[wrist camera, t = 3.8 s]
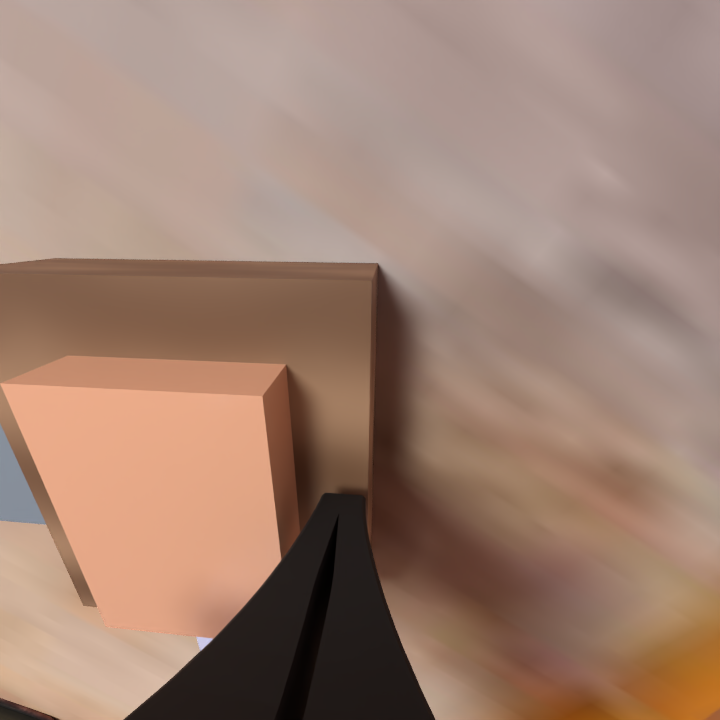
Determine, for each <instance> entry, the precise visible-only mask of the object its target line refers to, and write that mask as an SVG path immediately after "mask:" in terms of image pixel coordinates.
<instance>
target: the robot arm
mask: <svg viewBox="0 0 720 720" xmlns="http://www.w3.org/2000/svg"><path fill="white" fill-rule="evenodd" d="M197 641H198V644H199V648H200V652H199V653H198V654H197V655H196V656H195V657H194V658H193V659H192V660H191V661H190V662H189V663H188V664H186V665H185V666H184V667H183V668H182V669H181V670H180V671H179V672H178V673H177V674H176V675H175V676H174V677H173V678H172V679H170V680H169V681H168V682H167V683H166V684H165V685H164V686H163V687H161V688H160V689H159V690H158V691H157V692H155V693H154V694H153V695H152V696H151V697H150V698H148V699H147V700H146V701H145V702H144V703H143V704H141V705H140V706H139V707H138V708H137V709H136V710H134V711H133V712H132V713H131V714H130V715H128V716H127V717H126V718H125V719H124V720H435V718H434V716H433V713H432V711H431V709H430V707H429V705H428V703H427V701H426V699H425V697H424V694H423V692H422V690H421V688H420V686H419V683H418V681H417V679H416V676H415V674H414V672H413V669H412V667H411V665H410V662H409V660H408V658H407V655H406V653H405V651H404V648H403V646H402V643H401V641H400V638H399V636H398V633H397V630H396V628H395V625H394V622H393V620H392V617H391V614H390V611H389V608H388V605H387V602H386V599H385V596H384V593H383V590H382V587H381V583H380V580H379V576H378V573H377V569H376V566H375V562H374V558H373V553H372V549H371V544H370V540H369V534H368V528H367V521H366V498H365V497H364V496H363V495H351V494H337V493H324V494H323V495H322V496H321V498H320V500H319V502H318V504H317V506H316V508H315V510H314V511H313V513H312V515H311V517H310V518H309V520H308V521H307V523H306V525H305V526H304V528H303V529H302V531H301V532H300V534H299V535H298V537H297V538H296V540H295V541H294V543H293V544H292V546H291V547H290V549H289V550H288V552H287V553H286V554H285V556H284V557H283V558H282V560H281V561H280V562H279V564H278V565H277V566H276V568H275V569H274V571H273V572H272V573H271V574H270V576H269V577H268V578H267V580H266V581H265V582H264V583H263V584H262V586H261V587H260V588H259V589H258V591H257V592H256V593H255V594H254V595H253V596H252V598H251V599H250V600H249V601H248V602H247V603H246V604H245V606H244V607H243V608H242V609H241V610H240V611H239V612H238V613H237V614H236V615H235V617H234V618H233V619H232V620H231V621H230V622H229V623H228V624H227V625H226V626H225V627H224V628H223V629H222V630H221V631H220V632H219V633H218V635H217V636H216V637H215V638H214V639H213V638H204V637H197Z"/></svg>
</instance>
